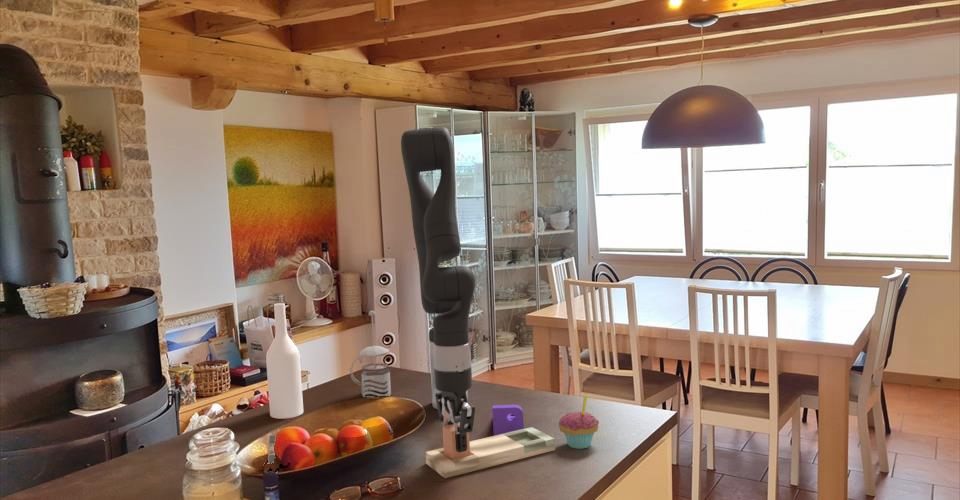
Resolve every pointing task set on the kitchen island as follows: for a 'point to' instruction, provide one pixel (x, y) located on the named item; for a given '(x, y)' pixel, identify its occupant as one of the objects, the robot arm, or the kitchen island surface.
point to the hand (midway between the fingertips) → (456, 447)
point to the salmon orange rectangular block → (453, 443)
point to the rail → (492, 452)
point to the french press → (374, 370)
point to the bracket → (507, 418)
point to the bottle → (283, 371)
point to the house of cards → (271, 450)
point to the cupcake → (579, 427)
